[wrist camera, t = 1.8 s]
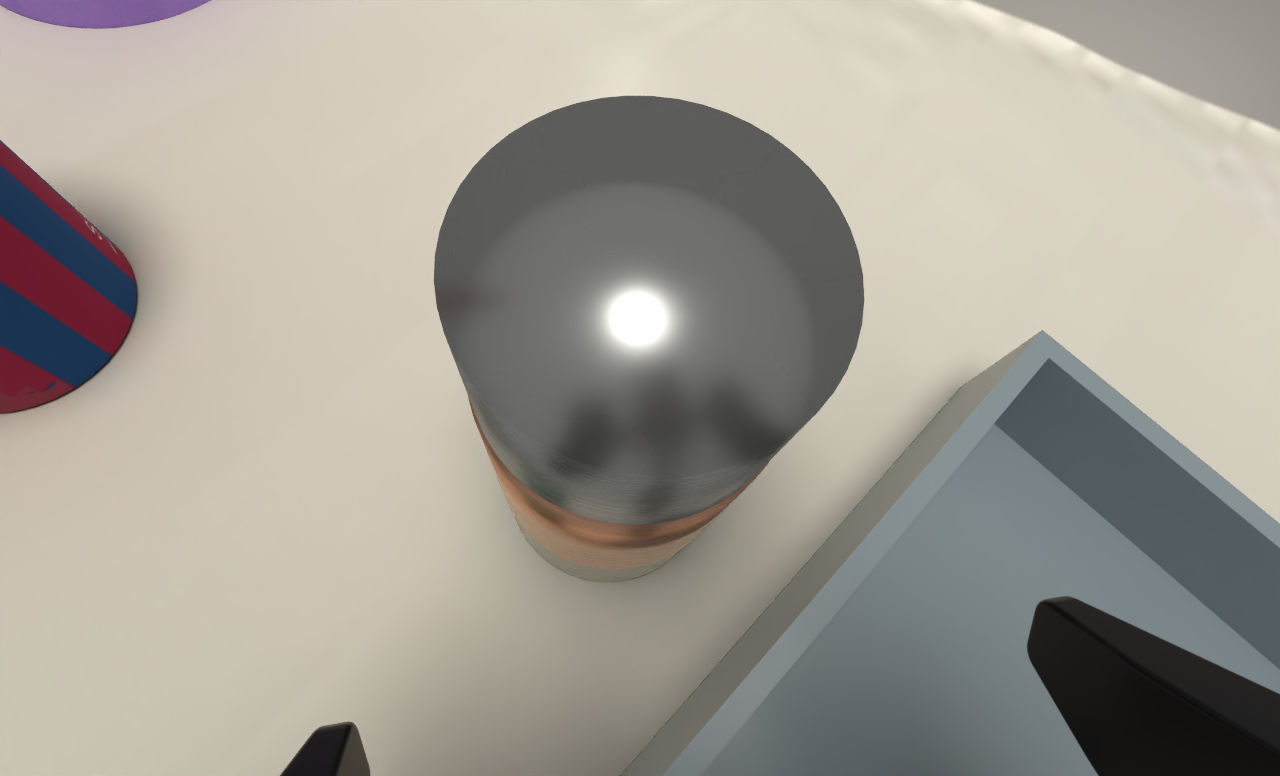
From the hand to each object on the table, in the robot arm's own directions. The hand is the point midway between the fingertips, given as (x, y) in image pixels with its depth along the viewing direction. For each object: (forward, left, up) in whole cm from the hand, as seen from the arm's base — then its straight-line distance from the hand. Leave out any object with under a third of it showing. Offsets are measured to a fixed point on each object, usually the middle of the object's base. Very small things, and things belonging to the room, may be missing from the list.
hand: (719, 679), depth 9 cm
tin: (+4, -3, -12) cm, 13 cm away
